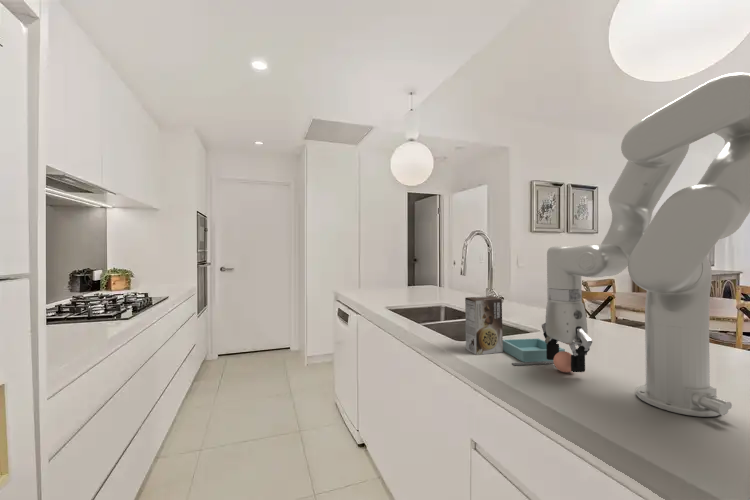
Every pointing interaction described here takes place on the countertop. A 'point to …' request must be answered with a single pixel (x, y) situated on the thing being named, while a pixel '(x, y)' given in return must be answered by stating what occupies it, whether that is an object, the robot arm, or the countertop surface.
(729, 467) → the countertop surface
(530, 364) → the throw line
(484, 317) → the coffee box
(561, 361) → the ball
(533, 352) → the tray
